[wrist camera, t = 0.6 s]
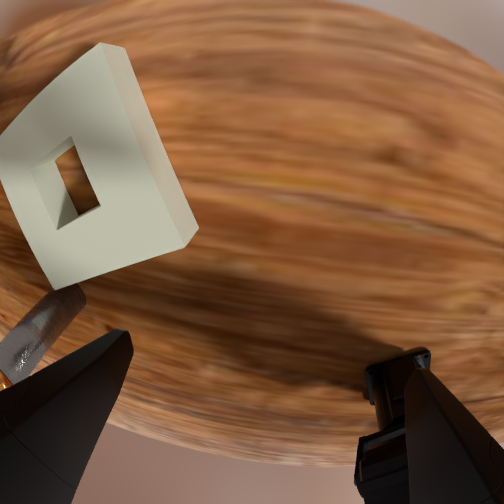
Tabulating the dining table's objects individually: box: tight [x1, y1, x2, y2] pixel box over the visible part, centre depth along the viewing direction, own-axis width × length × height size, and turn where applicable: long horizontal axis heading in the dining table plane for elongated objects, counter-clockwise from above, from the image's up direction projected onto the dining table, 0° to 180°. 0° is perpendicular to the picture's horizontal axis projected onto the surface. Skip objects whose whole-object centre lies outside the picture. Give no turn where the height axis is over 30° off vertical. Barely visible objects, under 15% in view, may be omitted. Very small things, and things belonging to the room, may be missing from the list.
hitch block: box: [0, 42, 199, 290], centre depth 18 cm, size 14×14×3 cm
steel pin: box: [0, 283, 86, 391], centre depth 20 cm, size 4×4×13 cm
